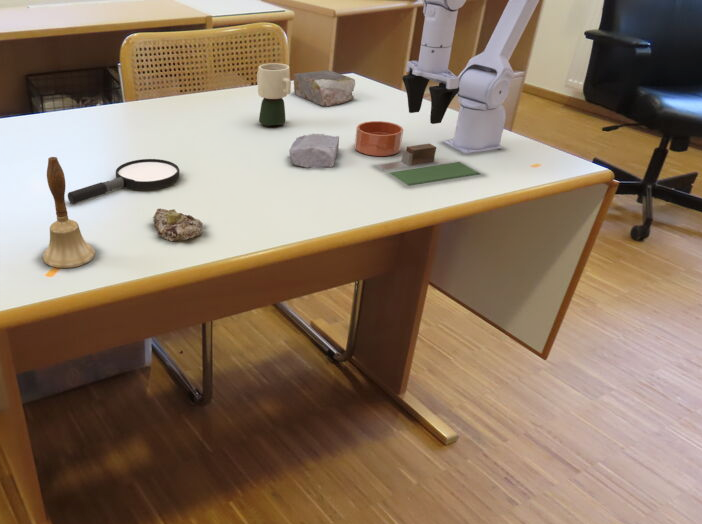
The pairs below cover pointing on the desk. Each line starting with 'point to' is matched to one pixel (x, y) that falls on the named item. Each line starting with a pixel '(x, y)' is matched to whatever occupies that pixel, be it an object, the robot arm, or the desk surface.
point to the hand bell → (64, 227)
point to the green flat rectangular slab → (434, 173)
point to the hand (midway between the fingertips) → (424, 117)
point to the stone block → (314, 150)
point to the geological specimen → (324, 87)
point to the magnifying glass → (132, 178)
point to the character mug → (273, 92)
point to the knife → (414, 156)
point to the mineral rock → (176, 225)
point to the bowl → (378, 138)
